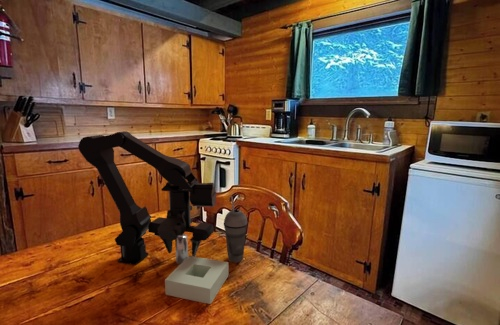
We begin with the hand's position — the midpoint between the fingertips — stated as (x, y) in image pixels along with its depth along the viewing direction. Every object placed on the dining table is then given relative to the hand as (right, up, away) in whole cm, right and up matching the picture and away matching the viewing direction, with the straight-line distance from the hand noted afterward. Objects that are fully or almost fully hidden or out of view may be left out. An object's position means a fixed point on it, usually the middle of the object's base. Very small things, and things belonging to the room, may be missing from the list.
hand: (181, 254), depth 83 cm
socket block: (+7, -4, -11) cm, 14 cm away
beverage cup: (+16, -2, +2) cm, 16 cm away
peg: (0, -2, 0) cm, 2 cm away
